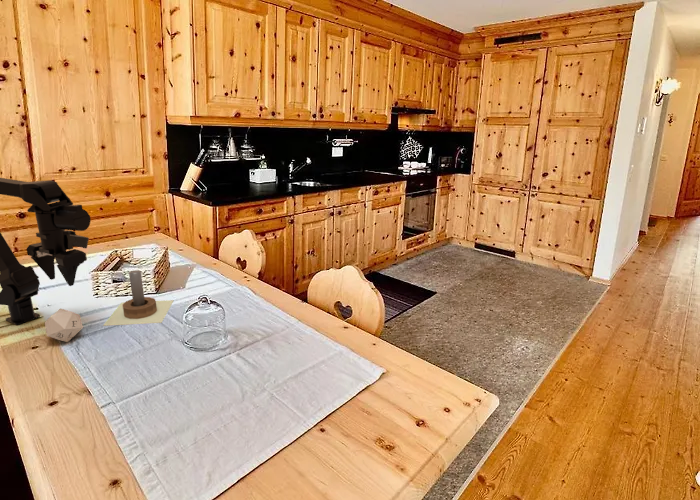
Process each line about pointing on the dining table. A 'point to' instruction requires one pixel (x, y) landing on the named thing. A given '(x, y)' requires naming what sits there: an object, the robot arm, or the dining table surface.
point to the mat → (157, 317)
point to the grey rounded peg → (137, 288)
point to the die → (63, 325)
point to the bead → (139, 309)
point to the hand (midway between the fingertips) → (61, 282)
